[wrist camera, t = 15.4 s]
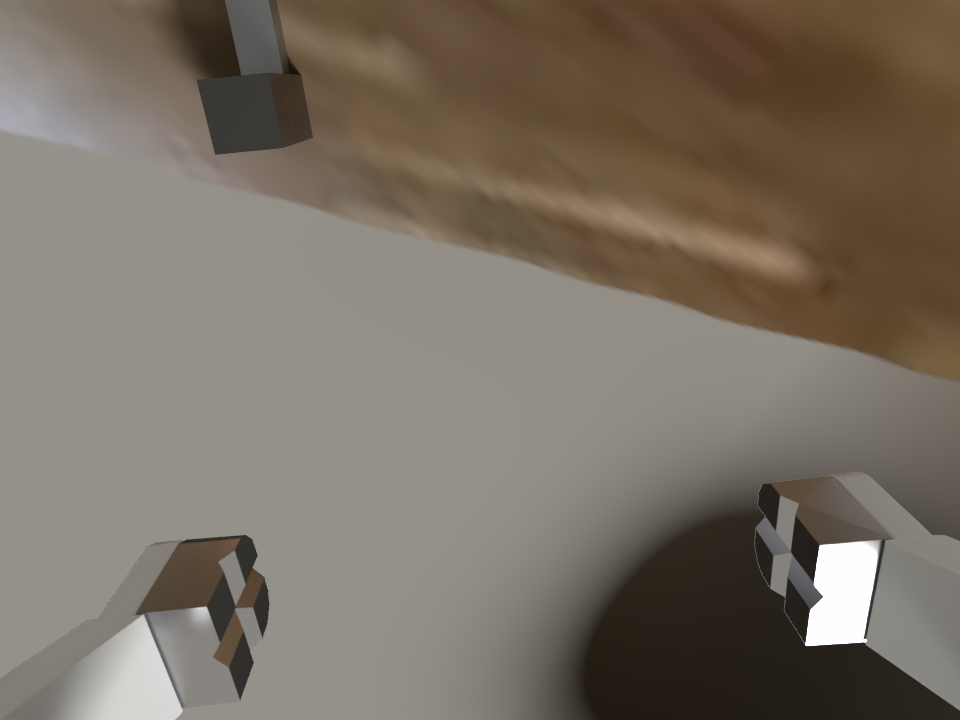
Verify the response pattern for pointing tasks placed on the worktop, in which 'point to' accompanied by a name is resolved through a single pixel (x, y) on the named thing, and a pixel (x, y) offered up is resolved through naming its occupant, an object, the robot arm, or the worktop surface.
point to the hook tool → (256, 86)
